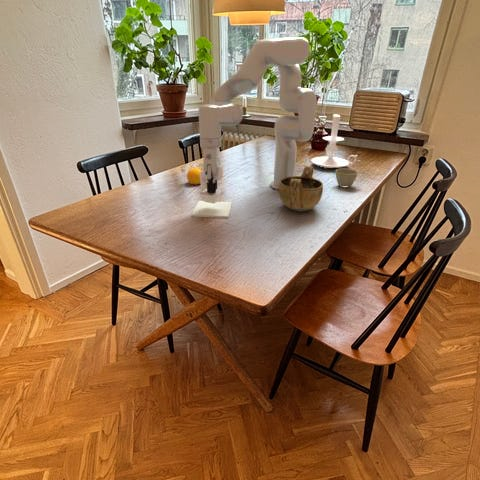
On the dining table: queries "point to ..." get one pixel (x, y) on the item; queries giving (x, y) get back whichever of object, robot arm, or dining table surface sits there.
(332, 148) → the candlestick
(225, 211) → the cream board
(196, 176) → the apple
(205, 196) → the figurine
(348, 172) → the flower pot
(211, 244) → the dining table surface
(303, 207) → the tan round basket
